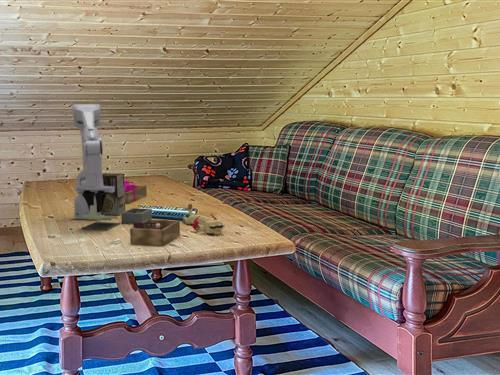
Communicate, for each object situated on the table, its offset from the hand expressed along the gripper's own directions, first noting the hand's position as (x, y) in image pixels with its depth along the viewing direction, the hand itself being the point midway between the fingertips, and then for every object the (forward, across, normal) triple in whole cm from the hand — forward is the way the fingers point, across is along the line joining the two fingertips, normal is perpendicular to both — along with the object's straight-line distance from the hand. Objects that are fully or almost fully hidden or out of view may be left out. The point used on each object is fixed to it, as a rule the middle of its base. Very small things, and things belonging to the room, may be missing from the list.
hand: (95, 211), depth 220 cm
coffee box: (+6, -7, +28) cm, 29 cm away
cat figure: (+7, +38, +8) cm, 39 cm away
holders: (+6, +5, +26) cm, 27 cm away
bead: (+6, +9, +17) cm, 20 cm away
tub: (+6, +9, +16) cm, 19 cm away
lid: (+3, 0, +3) cm, 4 cm away
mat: (+6, 0, +4) cm, 7 cm away
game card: (+7, +26, -14) cm, 30 cm away
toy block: (+6, -16, +60) cm, 62 cm away
